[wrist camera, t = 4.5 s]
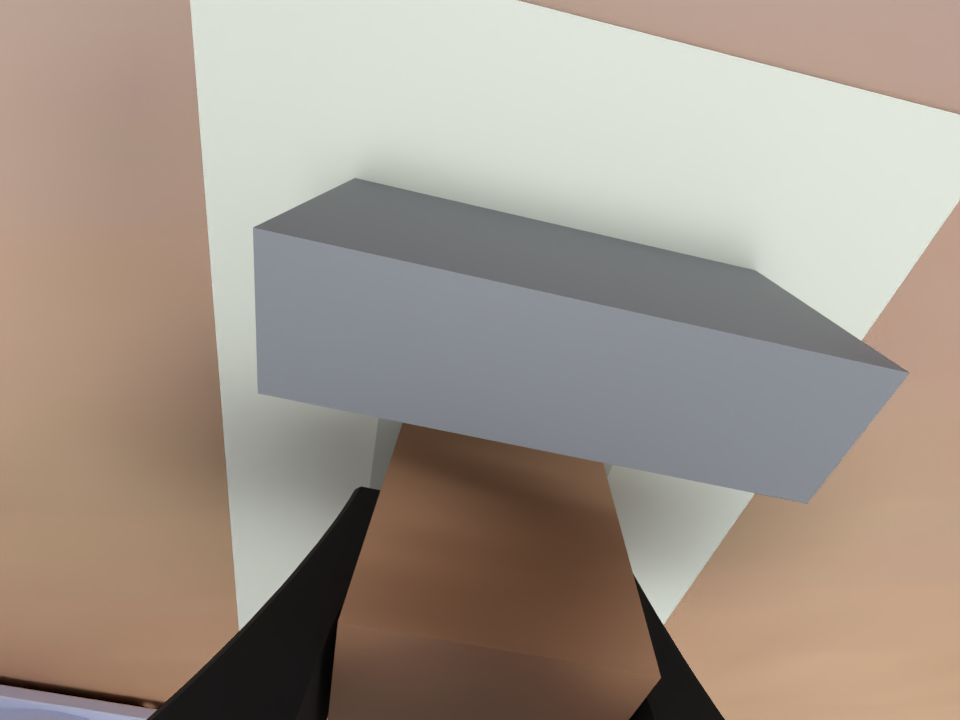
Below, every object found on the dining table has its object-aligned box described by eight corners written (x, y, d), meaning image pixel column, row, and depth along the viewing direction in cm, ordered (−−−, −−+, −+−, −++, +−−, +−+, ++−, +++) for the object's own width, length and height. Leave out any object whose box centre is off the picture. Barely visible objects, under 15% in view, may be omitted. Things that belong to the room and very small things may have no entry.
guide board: (251, 684, 17) (183, 838, 13) (205, -74, 7) (-140, -275, 3) (571, 737, 17) (588, 896, 14) (979, 126, 7) (1420, 146, 4)
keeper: (382, 561, 12) (320, 790, 8) (408, 404, 9) (337, 621, 5) (534, 589, 12) (547, 825, 8) (597, 443, 10) (660, 677, 6)
